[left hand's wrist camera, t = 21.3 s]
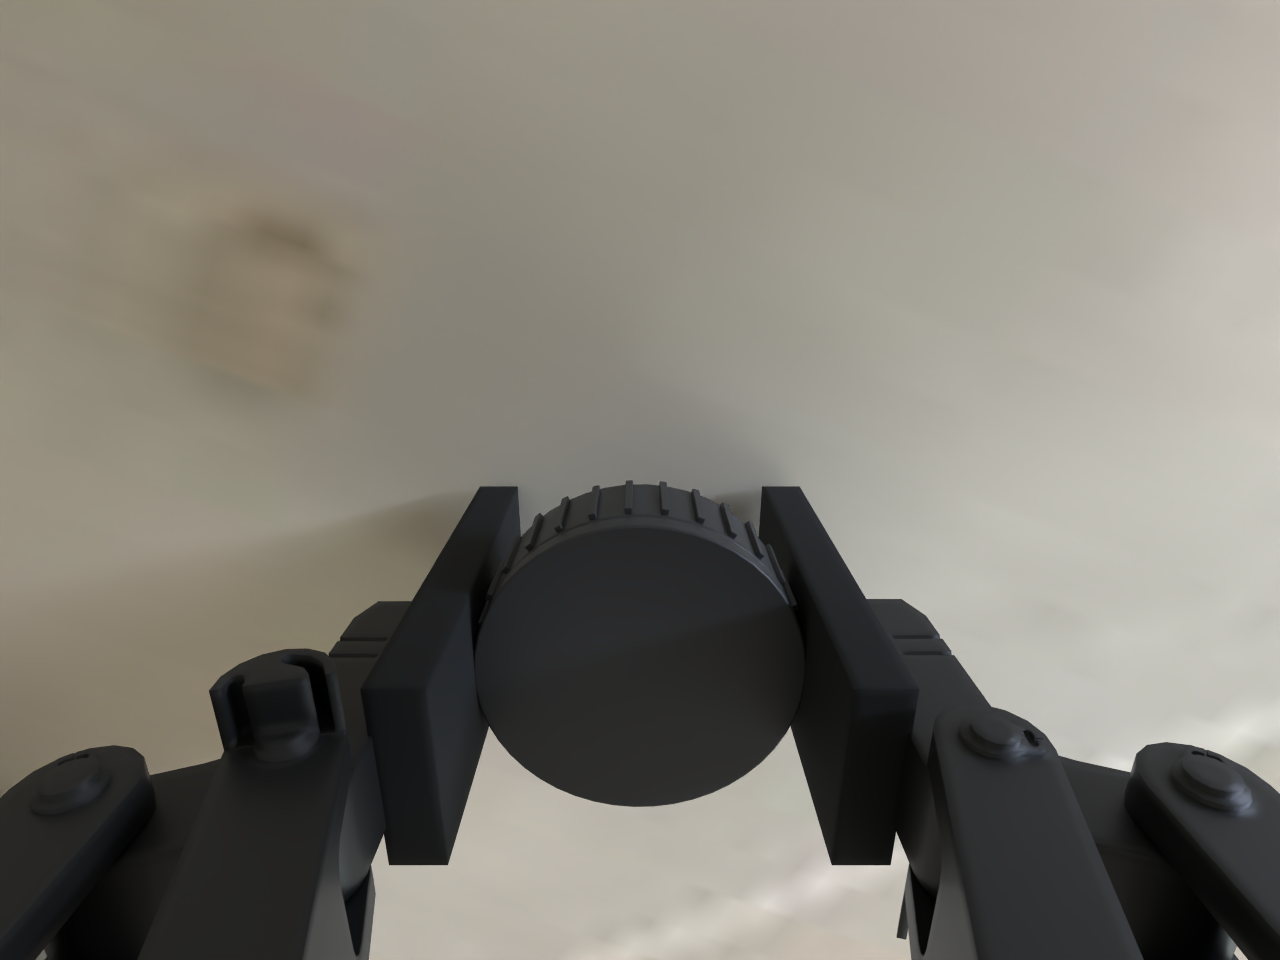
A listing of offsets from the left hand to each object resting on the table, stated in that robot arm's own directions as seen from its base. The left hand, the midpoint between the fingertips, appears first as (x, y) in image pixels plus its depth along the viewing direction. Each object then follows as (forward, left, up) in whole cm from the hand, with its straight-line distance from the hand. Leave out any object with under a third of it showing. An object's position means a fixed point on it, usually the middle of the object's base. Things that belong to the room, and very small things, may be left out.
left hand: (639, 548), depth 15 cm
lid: (0, 0, +4) cm, 4 cm away
